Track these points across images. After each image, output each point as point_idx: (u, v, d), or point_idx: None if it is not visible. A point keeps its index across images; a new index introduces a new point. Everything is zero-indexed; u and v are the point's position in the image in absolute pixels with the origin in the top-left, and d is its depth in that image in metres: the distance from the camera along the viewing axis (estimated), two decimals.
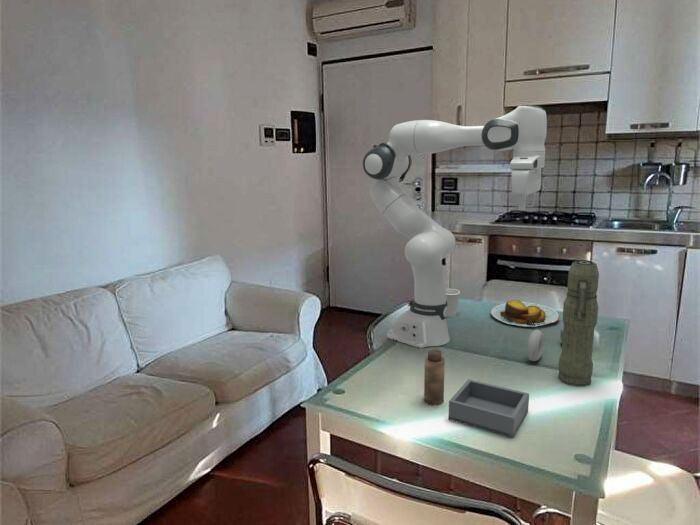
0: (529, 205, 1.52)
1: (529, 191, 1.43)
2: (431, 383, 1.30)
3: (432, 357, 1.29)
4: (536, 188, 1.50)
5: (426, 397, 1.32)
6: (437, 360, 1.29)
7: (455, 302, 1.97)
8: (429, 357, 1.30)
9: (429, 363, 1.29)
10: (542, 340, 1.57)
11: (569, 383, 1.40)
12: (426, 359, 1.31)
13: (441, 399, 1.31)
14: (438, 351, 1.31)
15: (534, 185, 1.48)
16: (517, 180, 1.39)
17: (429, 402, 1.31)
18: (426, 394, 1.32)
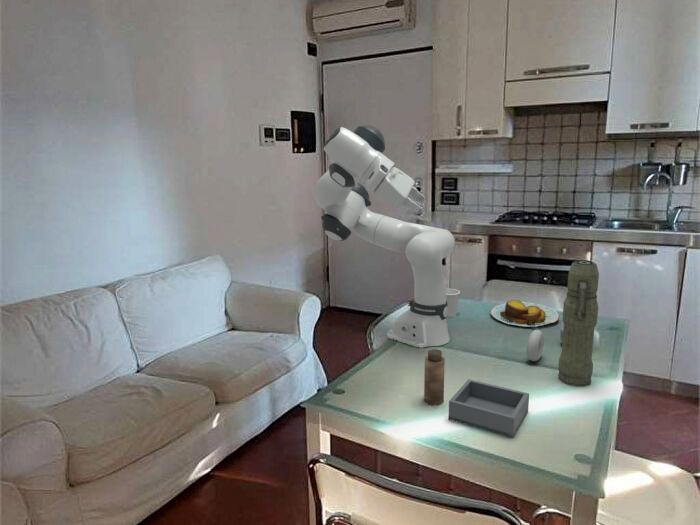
0: (421, 200, 1.33)
1: (406, 191, 1.24)
2: (431, 383, 1.30)
3: (432, 357, 1.29)
4: (410, 183, 1.32)
5: (426, 397, 1.32)
6: (437, 360, 1.29)
7: (455, 302, 1.97)
8: (429, 357, 1.30)
9: (429, 363, 1.29)
10: (542, 340, 1.57)
11: (569, 383, 1.40)
12: (426, 359, 1.31)
13: (441, 399, 1.31)
14: (438, 351, 1.31)
15: (405, 183, 1.29)
16: (386, 195, 1.21)
17: (429, 402, 1.31)
18: (426, 394, 1.32)
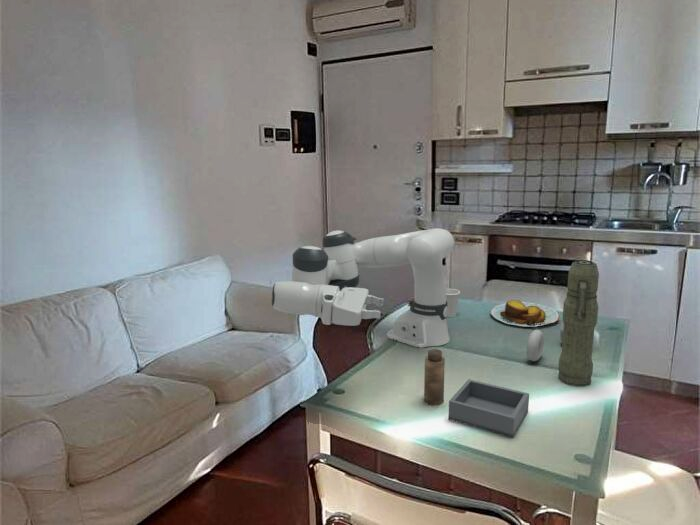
0: (381, 302, 1.34)
1: (359, 305, 1.25)
2: (431, 383, 1.30)
3: (432, 357, 1.29)
4: (362, 294, 1.34)
5: (426, 397, 1.32)
6: (437, 360, 1.29)
7: (455, 302, 1.97)
8: (429, 357, 1.30)
9: (429, 363, 1.29)
10: (542, 340, 1.57)
11: (569, 383, 1.40)
12: (426, 359, 1.31)
13: (441, 399, 1.31)
14: (438, 351, 1.31)
15: (357, 297, 1.31)
16: (342, 319, 1.22)
17: (429, 402, 1.31)
18: (426, 394, 1.32)
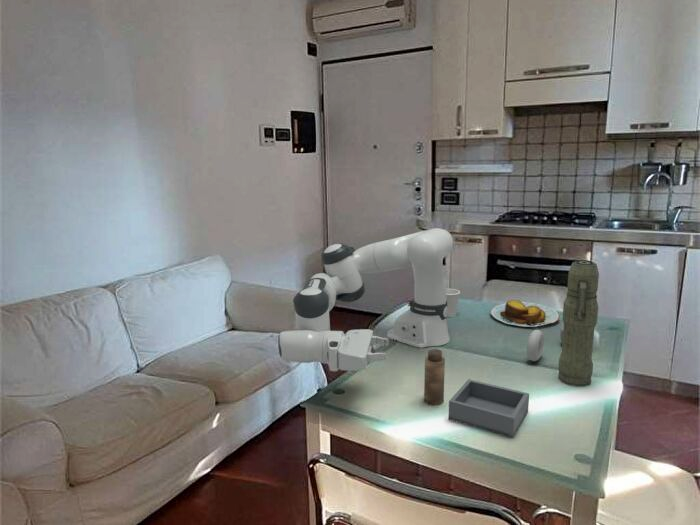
0: (386, 343, 1.36)
1: (364, 348, 1.27)
2: (431, 383, 1.30)
3: (433, 356, 1.29)
4: (367, 336, 1.36)
5: (426, 397, 1.32)
6: (437, 360, 1.29)
7: (455, 302, 1.97)
8: (429, 357, 1.30)
9: (429, 363, 1.29)
10: (542, 340, 1.57)
11: (569, 383, 1.40)
12: (426, 359, 1.31)
13: (441, 399, 1.31)
14: (438, 351, 1.31)
15: (362, 340, 1.33)
16: (348, 364, 1.24)
17: (429, 402, 1.31)
18: (426, 394, 1.32)
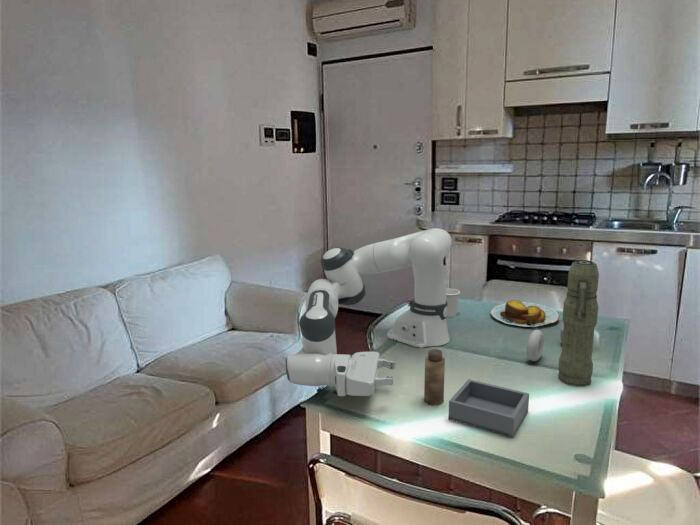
0: (393, 366, 1.37)
1: (371, 373, 1.29)
2: (431, 383, 1.30)
3: (433, 357, 1.29)
4: (374, 359, 1.37)
5: (426, 397, 1.32)
6: (437, 360, 1.29)
7: (455, 302, 1.97)
8: (429, 357, 1.30)
9: (429, 363, 1.29)
10: (542, 340, 1.57)
11: (569, 383, 1.40)
12: (426, 359, 1.31)
13: (441, 399, 1.31)
14: (438, 351, 1.31)
15: (369, 363, 1.35)
16: (356, 390, 1.25)
17: (429, 402, 1.31)
18: (426, 394, 1.32)
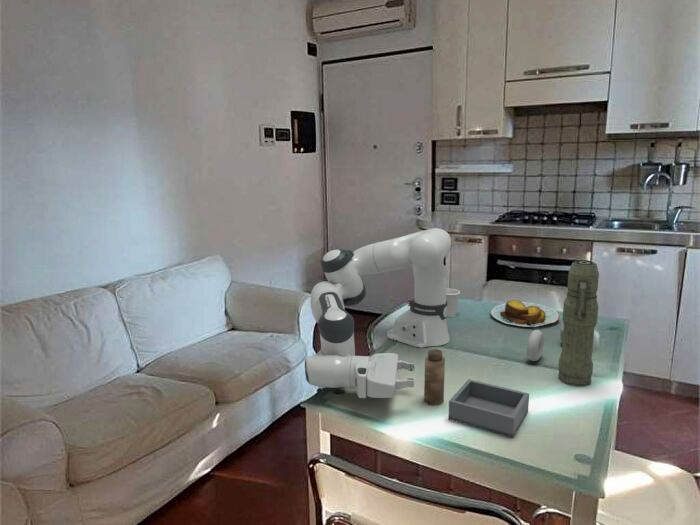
0: (412, 368, 1.36)
1: (392, 375, 1.28)
2: (431, 383, 1.30)
3: (433, 356, 1.29)
4: (393, 361, 1.36)
5: (426, 397, 1.32)
6: (437, 360, 1.29)
7: (455, 302, 1.97)
8: (429, 357, 1.30)
9: (429, 363, 1.29)
10: (542, 340, 1.57)
11: (569, 383, 1.40)
12: (426, 359, 1.31)
13: (441, 399, 1.31)
14: (438, 351, 1.31)
15: (388, 365, 1.34)
16: (377, 392, 1.24)
17: (429, 402, 1.31)
18: (426, 394, 1.32)
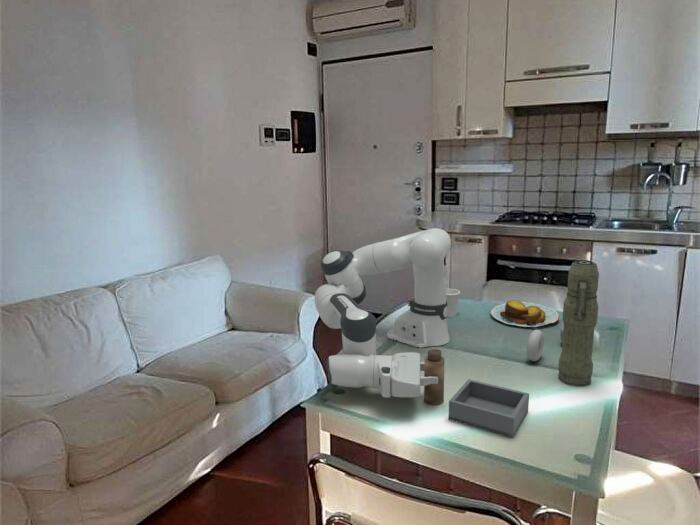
0: None
1: (416, 374, 1.27)
2: None
3: (432, 357, 1.29)
4: (416, 360, 1.36)
5: (426, 397, 1.32)
6: (437, 360, 1.29)
7: (455, 302, 1.97)
8: (429, 357, 1.30)
9: (429, 363, 1.29)
10: (542, 340, 1.57)
11: (569, 383, 1.40)
12: (426, 359, 1.31)
13: (441, 399, 1.31)
14: (438, 351, 1.31)
15: (411, 364, 1.33)
16: (402, 391, 1.24)
17: (429, 402, 1.31)
18: (426, 394, 1.32)
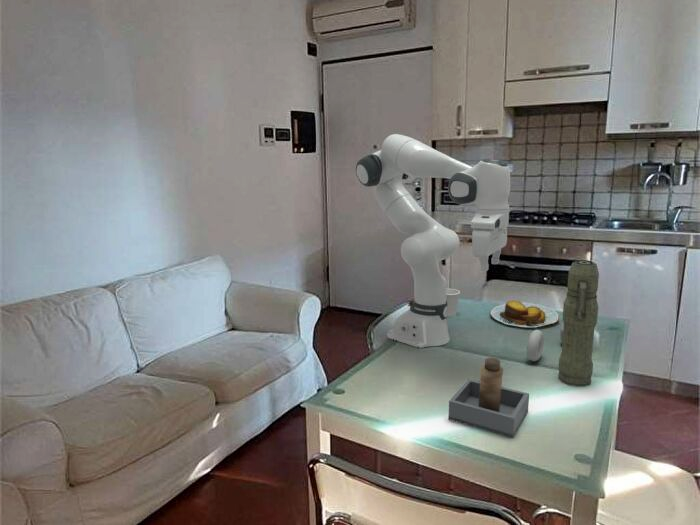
0: (494, 262, 1.43)
1: (492, 251, 1.34)
2: (488, 394, 1.22)
3: (490, 366, 1.21)
4: (501, 245, 1.41)
5: None
6: (495, 370, 1.21)
7: (455, 302, 1.97)
8: (487, 366, 1.21)
9: (487, 372, 1.21)
10: (542, 340, 1.57)
11: (569, 383, 1.40)
12: (483, 368, 1.22)
13: (497, 411, 1.23)
14: (496, 360, 1.22)
15: (498, 243, 1.39)
16: (478, 241, 1.31)
17: None
18: (481, 405, 1.24)
